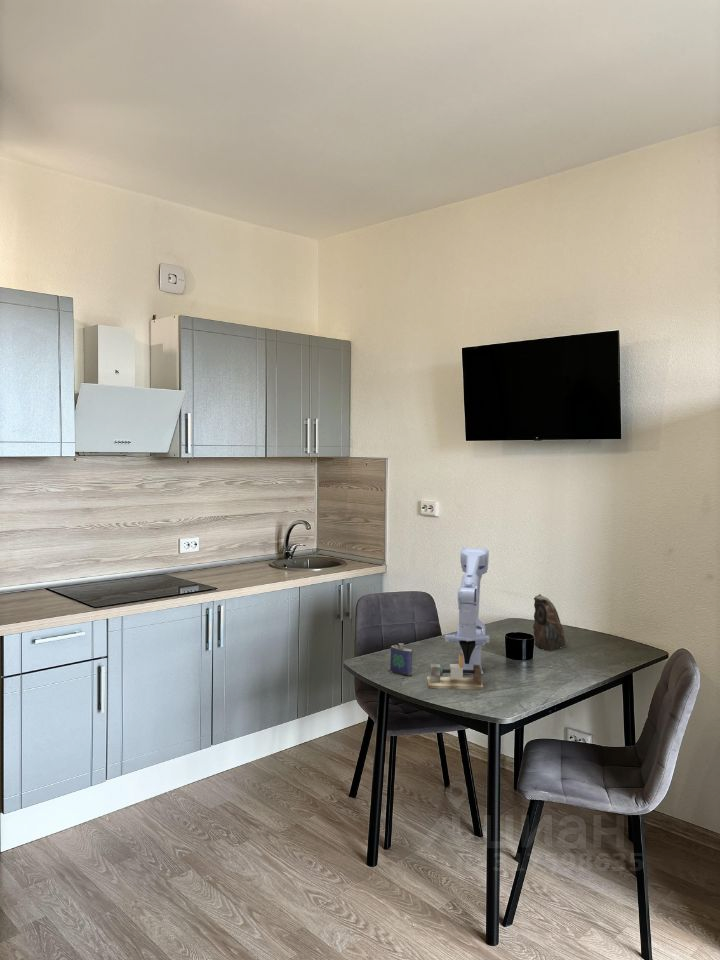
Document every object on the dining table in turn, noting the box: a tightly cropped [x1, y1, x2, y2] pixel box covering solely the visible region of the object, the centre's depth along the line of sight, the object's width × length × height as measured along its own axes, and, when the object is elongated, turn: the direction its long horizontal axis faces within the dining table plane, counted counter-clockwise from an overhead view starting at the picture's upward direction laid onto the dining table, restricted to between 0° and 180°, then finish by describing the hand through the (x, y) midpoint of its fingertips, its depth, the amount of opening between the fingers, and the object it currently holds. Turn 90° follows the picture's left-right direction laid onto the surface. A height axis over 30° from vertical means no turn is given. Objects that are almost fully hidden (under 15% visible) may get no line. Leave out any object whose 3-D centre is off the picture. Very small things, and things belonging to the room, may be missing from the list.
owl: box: [532, 593, 566, 652], centre depth 293 cm, size 13×13×20 cm
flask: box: [389, 642, 413, 677], centre depth 257 cm, size 9×3×11 cm, turn 47°
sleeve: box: [449, 651, 464, 679], centre depth 245 cm, size 4×4×8 cm
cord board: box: [426, 663, 484, 691], centre depth 245 cm, size 18×9×6 cm, turn 87°
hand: (466, 663), depth 245 cm, fingers closed
